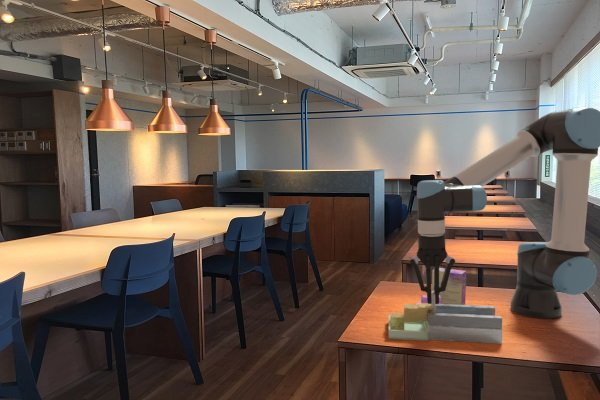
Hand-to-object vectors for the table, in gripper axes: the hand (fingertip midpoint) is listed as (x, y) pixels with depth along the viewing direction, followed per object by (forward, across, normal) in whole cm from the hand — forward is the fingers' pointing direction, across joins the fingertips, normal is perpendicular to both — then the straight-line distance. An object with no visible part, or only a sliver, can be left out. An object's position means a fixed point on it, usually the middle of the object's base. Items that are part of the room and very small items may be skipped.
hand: (433, 314), depth 141 cm
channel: (+6, -8, 0) cm, 10 cm away
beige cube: (+1, +2, 0) cm, 3 cm away
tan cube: (+2, +6, 0) cm, 7 cm away
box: (+6, -8, -30) cm, 32 cm away
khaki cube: (+3, +8, 0) cm, 9 cm away
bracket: (+6, 0, -20) cm, 21 cm away
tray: (+5, +7, 0) cm, 9 cm away
